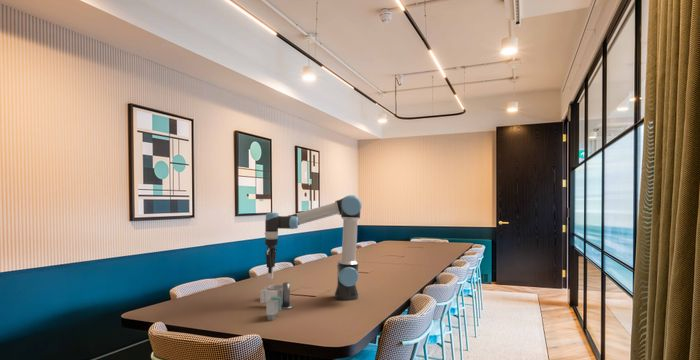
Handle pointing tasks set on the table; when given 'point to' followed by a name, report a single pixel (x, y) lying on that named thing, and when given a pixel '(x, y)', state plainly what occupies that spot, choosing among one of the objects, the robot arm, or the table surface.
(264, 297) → the elbow
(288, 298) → the riser post
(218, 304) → the table surface
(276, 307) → the duct stub
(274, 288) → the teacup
